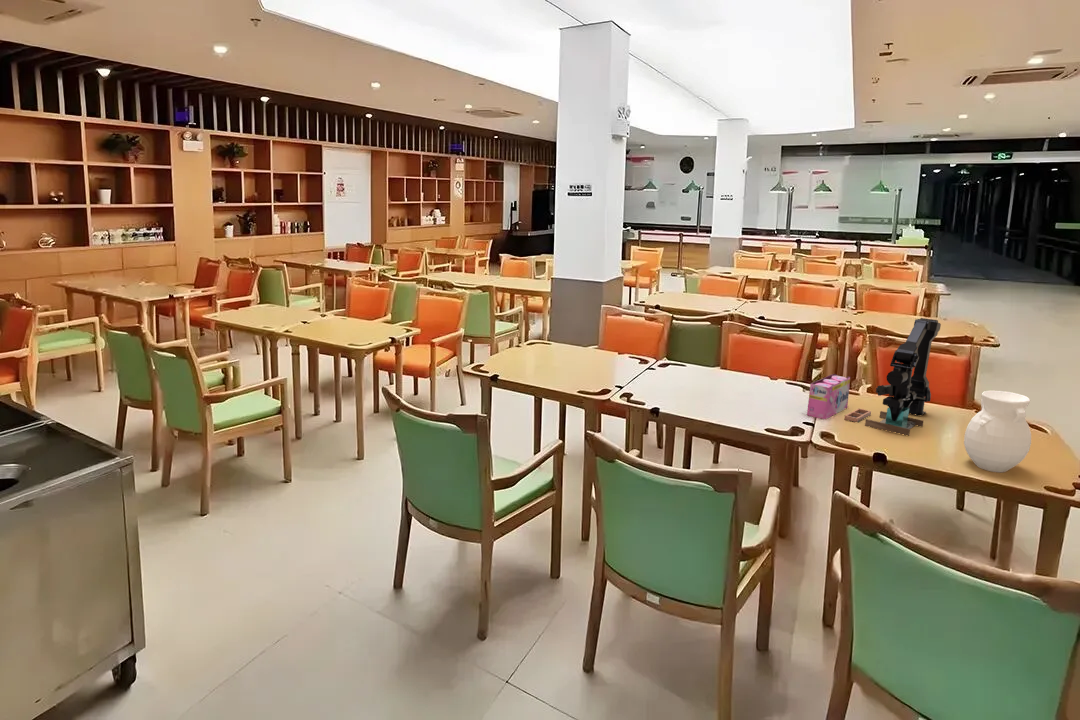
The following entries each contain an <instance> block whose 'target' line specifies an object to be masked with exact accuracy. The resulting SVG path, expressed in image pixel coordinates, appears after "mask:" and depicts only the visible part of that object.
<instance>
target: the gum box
mask: <svg viewBox="0 0 1080 720" xmlns="http://www.w3.org/2000/svg"><path fill="white" fill-rule="evenodd" d="M850 382H851V376H847V377H845V376H840V375H837V374H836V373H833V374H829V375H827V376H826V377H823V378H820V379H819V380H815V381H813V382H811V383H810V385H809V394H808V395H809V396H808V403H807V412H806V416H810V417H813V418H818V419H821V420H827V419H828V418H830V417H832V416H834V415H836V414H838V413H840V412H842V411H844V410H845V408H846V409H848V407H849V406H848V403H849V395H850Z"/></svg>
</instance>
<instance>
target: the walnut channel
mask: <svg viewBox="0 0 1080 720" xmlns="http://www.w3.org/2000/svg"><path fill="white" fill-rule="evenodd" d="M886 415H887V411H882V410H881V411H879V418H880V417H881V419H884V418H886ZM908 421H912V422H916V424H915V425H918V426H917V427H919V426H923V427H924V420H923V419H919V418H914V417H910V416H908ZM864 422H865V423H864V426H865V427H868V426H870V427H869V428H873V427H874V429H877V428H878V429H877V430H881V429H883V430H882V431H885V430H887V431H886V432H889V431H891V432H890V433H893V432H896V433H895V434H897V433H900V434H899V435H902V434H904V435H903V436H906V435H908V436H907V437H909V436H910V433H911V428H910V429H907V428H903V427H899V426H894V425H890V424H886V423H881V422H880V421H878V420H873V419H868V418H865V421H864Z"/></svg>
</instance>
